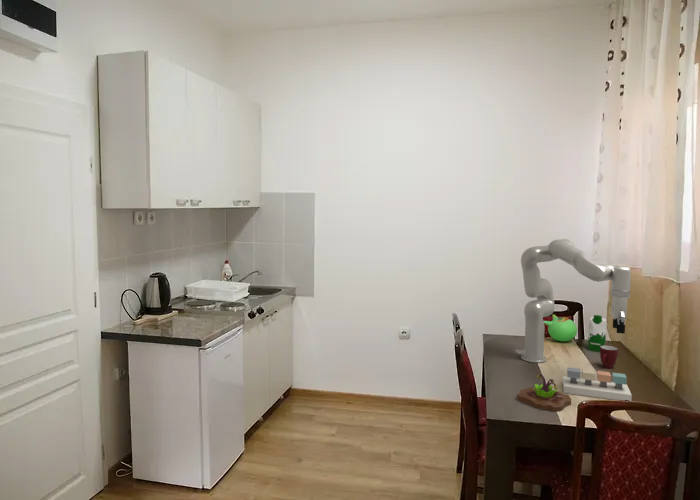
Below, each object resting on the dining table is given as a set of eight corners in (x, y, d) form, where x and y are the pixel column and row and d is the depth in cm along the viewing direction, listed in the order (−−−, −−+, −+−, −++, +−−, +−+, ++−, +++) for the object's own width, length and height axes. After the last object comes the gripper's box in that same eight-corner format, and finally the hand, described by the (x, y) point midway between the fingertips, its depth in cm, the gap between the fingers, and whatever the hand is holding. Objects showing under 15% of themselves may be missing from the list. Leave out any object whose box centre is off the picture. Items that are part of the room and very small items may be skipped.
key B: (582, 385, 218) (583, 372, 218) (581, 382, 223) (582, 369, 223) (594, 387, 217) (595, 374, 216) (593, 383, 221) (594, 370, 221)
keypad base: (563, 392, 217) (564, 386, 217) (562, 382, 230) (562, 375, 230) (631, 401, 208) (631, 395, 208) (625, 390, 221) (626, 383, 221)
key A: (567, 383, 221) (568, 370, 220) (566, 380, 225) (567, 367, 225) (579, 385, 219) (580, 372, 218) (578, 381, 223) (579, 368, 223)
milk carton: (586, 350, 280) (588, 315, 278) (588, 346, 288) (590, 312, 286) (604, 353, 276) (606, 317, 274) (605, 349, 283) (607, 314, 281)
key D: (612, 389, 214) (613, 376, 214) (611, 385, 219) (612, 372, 218) (625, 391, 212) (626, 377, 212) (624, 387, 217) (625, 374, 216)
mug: (613, 372, 245) (614, 352, 244) (595, 368, 250) (596, 349, 249) (618, 366, 253) (619, 347, 252) (601, 363, 258) (602, 344, 257)
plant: (533, 388, 223) (534, 364, 222) (577, 401, 208) (578, 376, 207) (510, 400, 209) (511, 374, 208) (555, 415, 195) (556, 387, 194)
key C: (597, 387, 216) (598, 374, 216) (596, 383, 221) (597, 370, 220) (610, 389, 215) (611, 375, 214) (608, 385, 219) (609, 372, 219)
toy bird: (570, 346, 288) (572, 321, 286) (541, 340, 299) (542, 316, 297) (580, 340, 302) (581, 316, 300) (551, 335, 312) (552, 312, 311)
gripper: (607, 290, 235) (606, 325, 237) (614, 296, 219) (612, 334, 220) (625, 291, 233) (623, 326, 234) (633, 297, 216) (631, 335, 218)
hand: (618, 330), depth 227 cm, fingers open, 9 cm apart
